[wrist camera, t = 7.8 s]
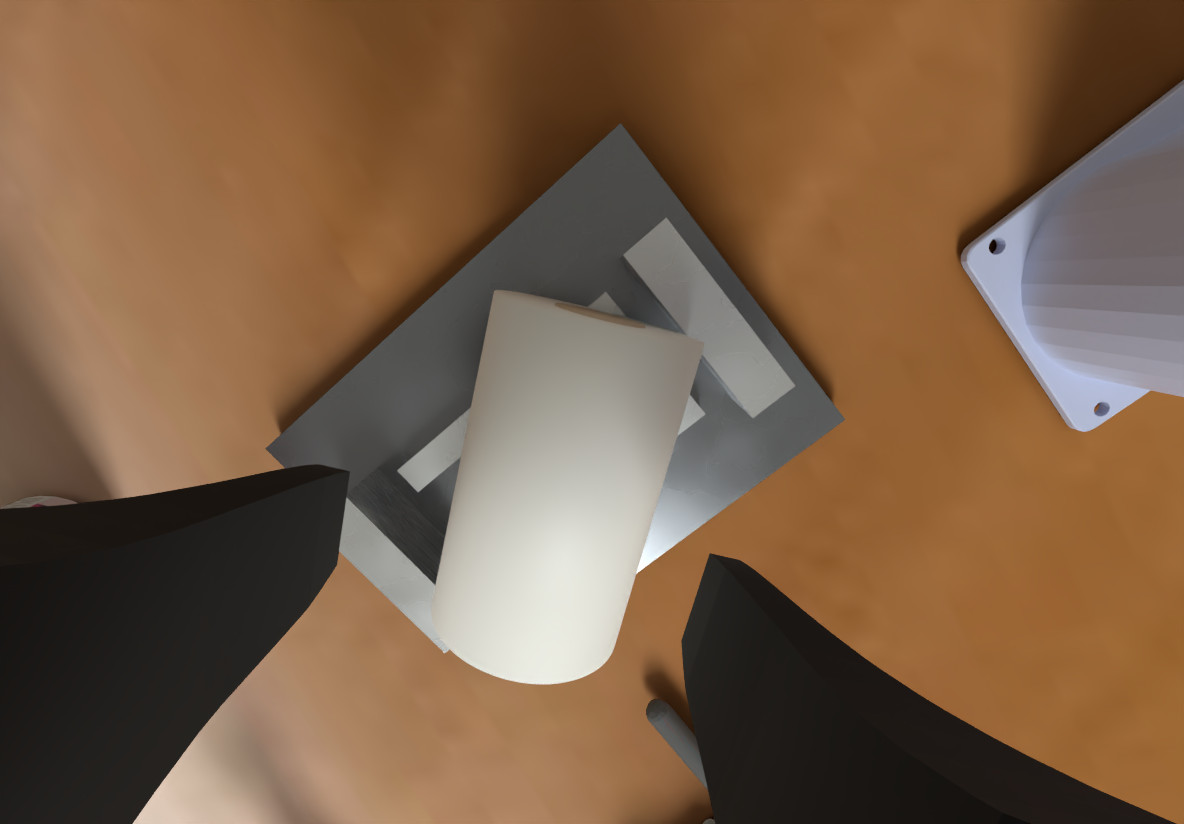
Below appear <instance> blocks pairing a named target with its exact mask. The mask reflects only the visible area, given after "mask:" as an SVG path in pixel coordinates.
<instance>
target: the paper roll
mask: <svg viewBox="0 0 1184 824" xmlns="http://www.w3.org/2000/svg"><path fill="white" fill-rule="evenodd" d="M704 345H705V344H704V343H703V342H702V341H700V340H698V339H695V338H693V337H690V336H687V335H685V334H682V333H679V332H676V331H673V330H670V329H666V328H663V327H660V326H657V325H653V324H650V323H646V322H643V321H639V320H636V319H632V318H629V317H625V316H621V315H617V314H614V313H610V312H606V311H602V310H598V309H594V308H590V307H586V306H582V305H578V304H573V303H569V302H565V301H560V300H556V299H551V298H546V297H541V296H536V295H531V294H526V293H520V292H514V291H507V290H494V294H493V299H492V304H491V309H490V314H489V319H488V324H487V329H486V334H485V339H484V344H483V349H482V354H481V359H480V364H479V369H478V374H477V379H476V384H475V389H474V394H473V399H472V404H471V409H470V414H469V419H468V424H467V429H466V434H465V439H464V444H463V450H462V455H461V460H460V465H459V470H458V475H457V480H456V485H455V490H454V495H453V500H452V505H451V510H450V515H449V520H448V525H447V530H446V535H445V540H444V545H443V550H442V555H441V560H440V565H439V570H438V575H437V580H436V585H435V590H434V595H433V600H432V605H431V616H432V621H433V624H434V627H435V629H436V632H437V633H438V635H439V637H440V638H441V640H442V641H443V642H444V643H445V644H446V646H447V647H448V648H449V649H450V650H451V651H452V652H453V653H455V654H456V655H457V656H458V657H459V658H461V659H462V660H464V661H465V662H467V663H468V664H470V665H472V666H474V667H475V668H477V669H479V670H481V671H484V672H486V673H488V674H491V675H493V676H496V677H500V678H503V679H506V680H511V681H515V682H520V683H529V684H556V683H564V682H568V681H573V680H576V679H579V678H582V677H585V676H587V675H589V674H591V673H592V672H594V671H596V670H597V669H598V668H600V667H601V666H602V665H603V664H604V663H605V662H606V661H607V660H608V659H609V657H610V655H611V654H612V652H613V649H614V646H615V643H616V640H617V637H618V633H619V630H620V627H621V623H622V620H623V617H624V613H625V610H626V606H627V603H628V600H629V596H630V593H631V590H632V586H633V583H634V580H635V576H636V573H637V570H638V566H639V563H640V559H641V556H642V553H643V549H644V546H645V543H646V539H647V536H648V533H649V529H650V526H651V523H652V519H653V516H654V513H655V509H656V506H657V502H658V499H659V496H660V492H661V489H662V486H663V482H664V479H665V476H666V472H667V469H668V466H669V462H670V459H671V455H672V452H673V449H674V445H675V442H676V439H677V435H678V432H679V429H680V425H681V422H682V419H683V415H684V412H685V409H686V405H687V402H688V398H689V395H690V392H691V388H692V385H693V382H694V378H695V375H696V372H697V368H698V365H699V362H700V358H701V355H702V351H703V348H704Z"/></svg>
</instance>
